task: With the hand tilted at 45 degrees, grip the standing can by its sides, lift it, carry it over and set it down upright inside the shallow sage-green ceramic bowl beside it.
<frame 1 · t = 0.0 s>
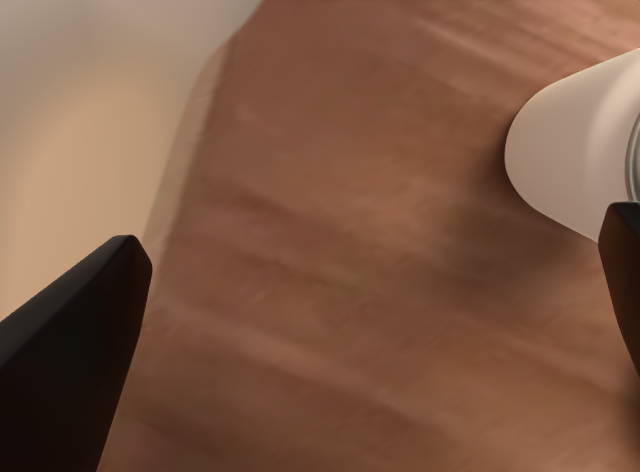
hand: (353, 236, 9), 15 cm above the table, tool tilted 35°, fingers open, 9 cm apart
can: (575, 149, 22), on the table
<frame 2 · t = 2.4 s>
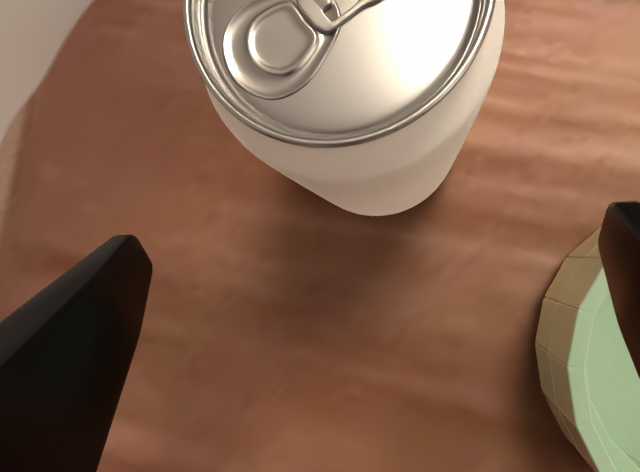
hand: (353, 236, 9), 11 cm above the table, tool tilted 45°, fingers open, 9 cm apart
can: (377, 141, 20), on the table
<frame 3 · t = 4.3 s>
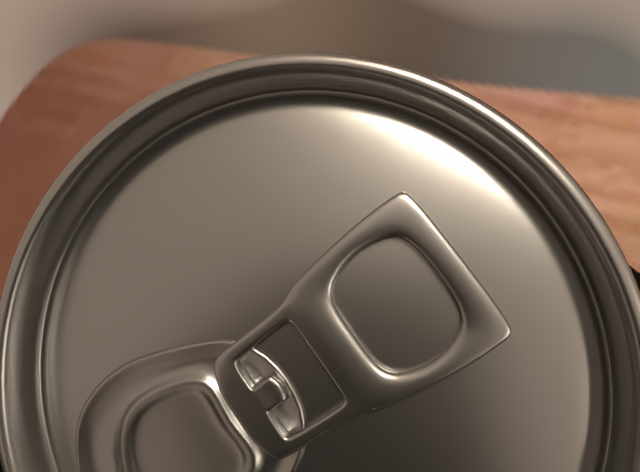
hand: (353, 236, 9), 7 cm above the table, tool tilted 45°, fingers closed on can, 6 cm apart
can: (379, 282, 16), on the table, touching gripper
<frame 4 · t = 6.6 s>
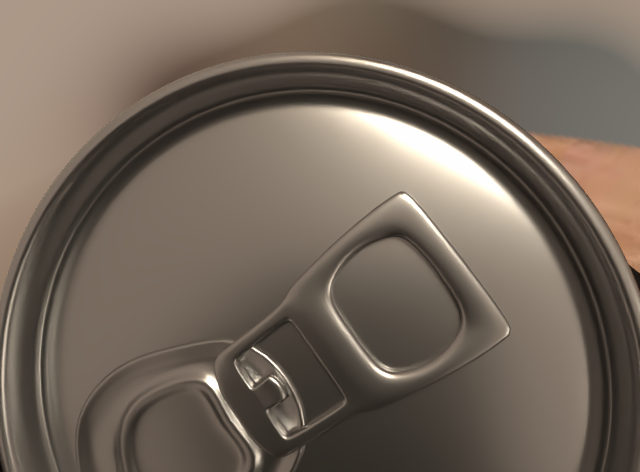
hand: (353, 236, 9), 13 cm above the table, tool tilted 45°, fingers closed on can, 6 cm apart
can: (379, 282, 16), point 6 cm above the table, touching gripper
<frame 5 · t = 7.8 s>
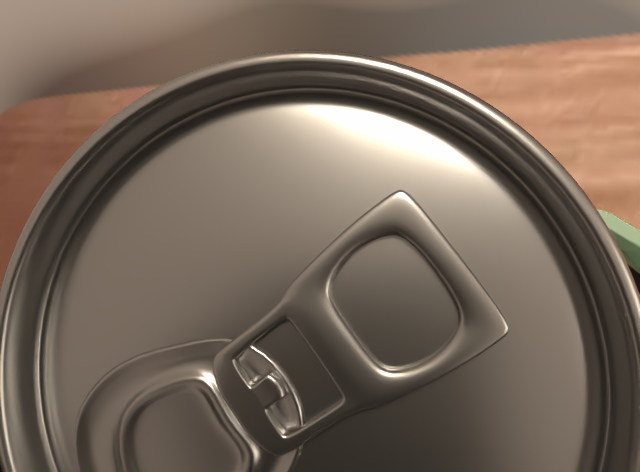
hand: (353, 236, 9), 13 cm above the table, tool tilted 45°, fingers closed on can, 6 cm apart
bowl: (510, 334, 21), on the table
can: (379, 282, 16), point 7 cm above the table, touching gripper
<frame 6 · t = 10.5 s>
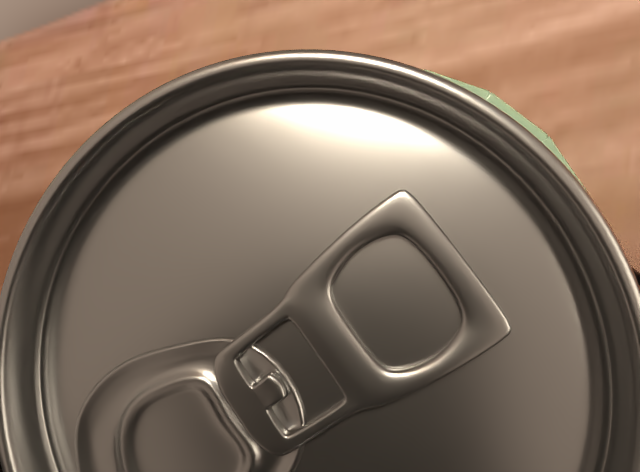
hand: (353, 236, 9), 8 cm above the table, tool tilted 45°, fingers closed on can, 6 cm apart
bowl: (382, 272, 17), on the table
can: (379, 282, 16), point 1 cm above the table, touching gripper
when the fingers open (7 cm above the table, at t = 11.1 s): can stays where it is, resting on bowl.
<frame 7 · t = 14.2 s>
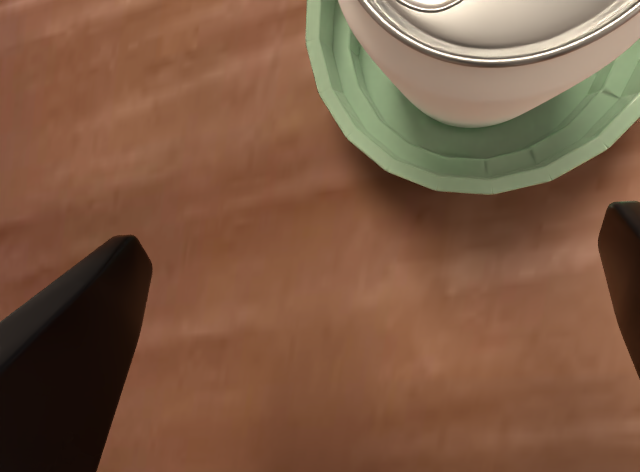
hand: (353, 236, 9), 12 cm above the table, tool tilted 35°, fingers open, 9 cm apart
bowl: (475, 41, 19), on the table
can: (476, 43, 18), resting on bowl
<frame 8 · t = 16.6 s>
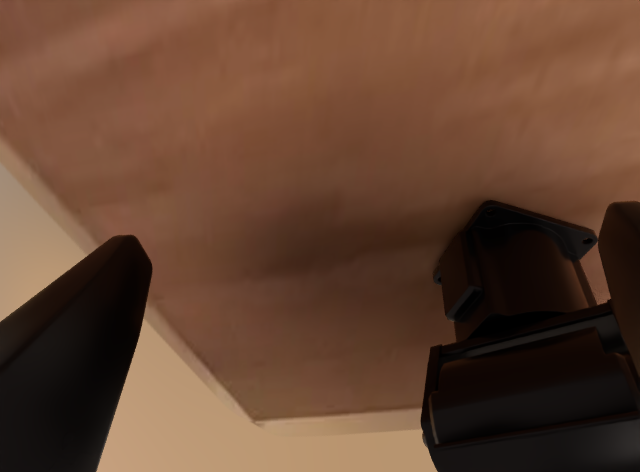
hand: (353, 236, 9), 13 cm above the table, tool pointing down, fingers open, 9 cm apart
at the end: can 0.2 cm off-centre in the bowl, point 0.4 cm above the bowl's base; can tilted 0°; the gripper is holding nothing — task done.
